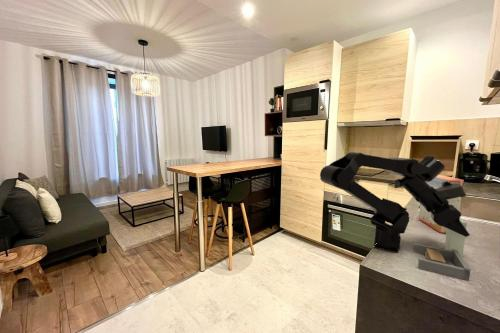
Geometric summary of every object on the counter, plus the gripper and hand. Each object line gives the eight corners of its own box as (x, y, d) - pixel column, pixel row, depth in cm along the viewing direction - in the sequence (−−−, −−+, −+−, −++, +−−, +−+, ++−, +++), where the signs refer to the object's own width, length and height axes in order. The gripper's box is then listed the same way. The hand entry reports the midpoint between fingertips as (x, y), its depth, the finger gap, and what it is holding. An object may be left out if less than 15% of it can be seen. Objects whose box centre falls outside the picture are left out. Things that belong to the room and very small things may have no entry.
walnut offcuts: (429, 270, 58) (431, 260, 57) (424, 257, 64) (425, 247, 64) (446, 274, 56) (448, 263, 55) (439, 260, 62) (440, 250, 62)
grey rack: (418, 268, 58) (419, 257, 58) (413, 250, 67) (414, 241, 67) (468, 280, 53) (470, 269, 52) (455, 259, 62) (456, 250, 62)
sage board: (448, 255, 64) (452, 221, 63) (444, 248, 69) (448, 215, 67) (462, 258, 63) (466, 223, 61) (457, 250, 67) (461, 217, 66)
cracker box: (458, 234, 78) (465, 179, 76) (439, 233, 80) (445, 178, 77) (433, 220, 92) (438, 173, 89) (418, 219, 93) (422, 173, 91)
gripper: (454, 179, 57) (509, 226, 52) (438, 170, 73) (479, 206, 68) (415, 202, 62) (462, 248, 57) (407, 190, 78) (444, 225, 73)
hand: (462, 230), depth 64 cm, fingers open, 9 cm apart
